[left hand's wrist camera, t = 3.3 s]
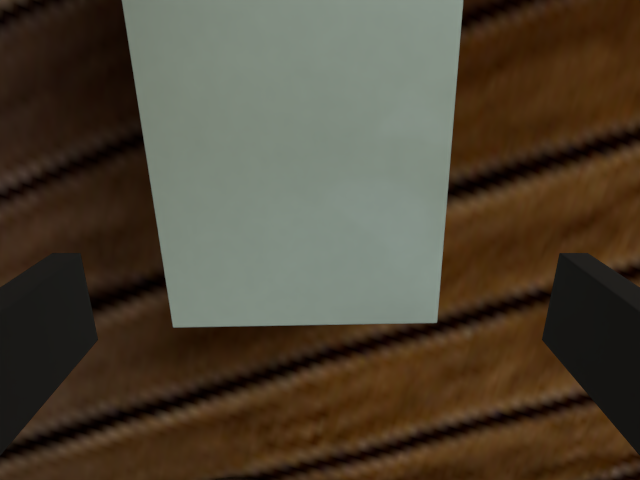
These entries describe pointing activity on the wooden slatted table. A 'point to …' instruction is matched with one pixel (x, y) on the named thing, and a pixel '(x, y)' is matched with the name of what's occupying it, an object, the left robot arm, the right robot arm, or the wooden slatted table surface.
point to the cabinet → (298, 155)
